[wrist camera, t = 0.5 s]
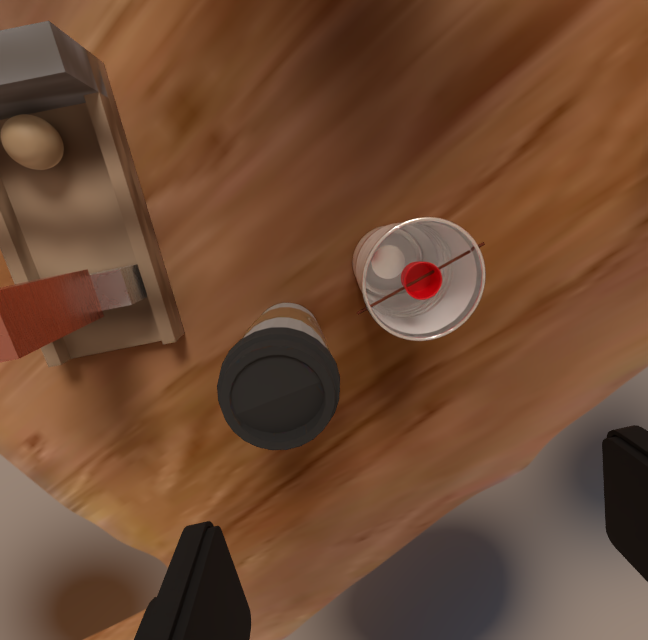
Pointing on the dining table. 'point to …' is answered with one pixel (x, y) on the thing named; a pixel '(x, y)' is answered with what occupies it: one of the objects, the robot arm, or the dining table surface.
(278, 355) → the coffee cup
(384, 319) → the striped paper cup
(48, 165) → the walnut
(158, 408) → the dining table surface
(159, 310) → the grey tray
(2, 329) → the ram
